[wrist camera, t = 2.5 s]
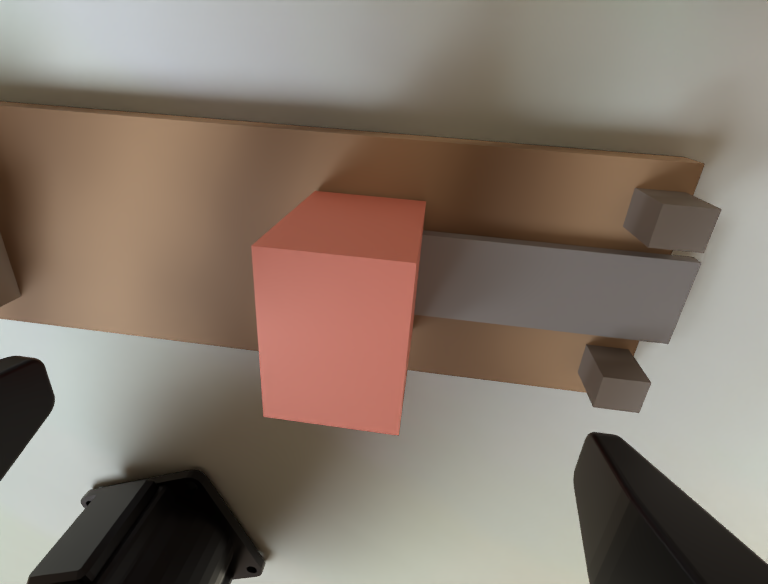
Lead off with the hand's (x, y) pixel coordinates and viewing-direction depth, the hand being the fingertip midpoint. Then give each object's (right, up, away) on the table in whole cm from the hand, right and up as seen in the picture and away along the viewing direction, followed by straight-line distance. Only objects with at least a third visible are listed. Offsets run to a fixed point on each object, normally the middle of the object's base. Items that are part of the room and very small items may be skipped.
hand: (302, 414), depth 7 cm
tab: (+4, +2, +5) cm, 7 cm away
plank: (-2, +4, +7) cm, 8 cm away
